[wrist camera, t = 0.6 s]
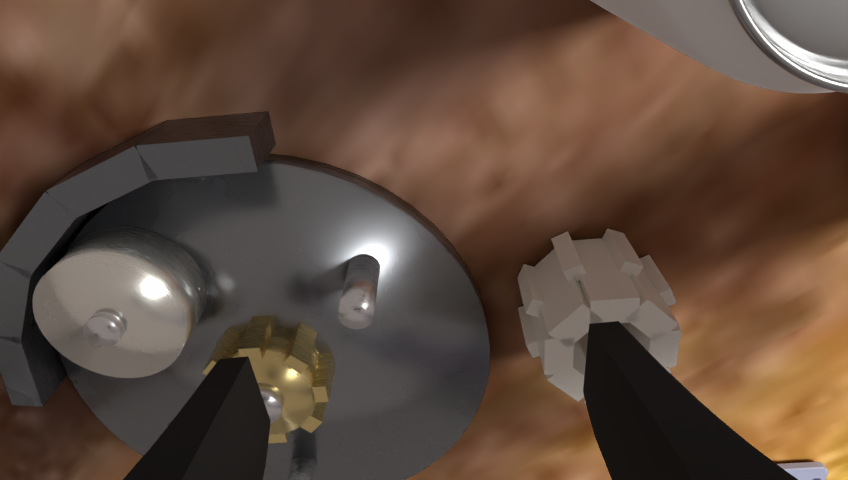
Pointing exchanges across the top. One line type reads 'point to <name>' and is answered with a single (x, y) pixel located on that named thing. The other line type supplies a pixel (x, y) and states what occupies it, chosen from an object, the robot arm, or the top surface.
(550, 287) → the planet gear
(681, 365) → the top surface
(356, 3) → the top surface
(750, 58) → the can
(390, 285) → the carrier
